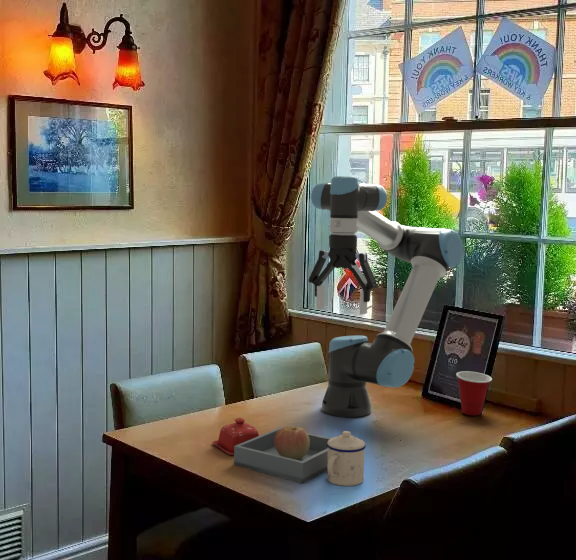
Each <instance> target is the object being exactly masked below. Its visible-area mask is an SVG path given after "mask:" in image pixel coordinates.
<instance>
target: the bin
mask: <svg viewBox="0 0 576 560" xmlns="http://www.w3.org/2000/svg"><path fill="white" fill-rule="evenodd" d="M282 428H284V427H283V426H282V427H281V426H280V427H278V428H275V429H273V430H271V431H268V432H265V433H263V434H259V436H258V437H255V438H253V439H251V440H248V441H246V442H243V443H241V444H238V445H236V446H234V455H233V465H234V466H237V467H242V468H245V469H248V470H251V471H254V472H257V473H260V474H261V473H262V474H265V475H270V476H272V477H276V478H279V479H283V480H286V481H291V482H293V483H297V484H301V485H304V484H305V483H307V482H308V481H311V480H313V479H315V478H317V477H318V476H320V475H322V474H324V473H327V455H328V447H327V442H328V440H329V439H331V438H332V437H327V436H323V435H317V434H313V433H309V432H307V434H308V436H309V439H310V445H309V450H308V452H307V454H306V455H305V456H304V457H303V458H301V459H298V460H295V459H291V458H287V457H283V456H280V455H279V454H278V452H277V450H276V448H275V444H274V438H275V435H276V433H277V432H278V431H279V430H280V429H282Z"/></svg>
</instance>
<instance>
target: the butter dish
mask: <svg viewBox="0 0 576 560" xmlns="http://www.w3.org/2000/svg"><path fill="white" fill-rule="evenodd" d="M245 420H246V419H244V418H243V417H237V418H235V419H234V421H235V422H233V423H229V424H228V423H227V424H226V425H224V426H222V427H221V429H220V432H219V436H218V440H213V441H212V443H211V444H213V445H214V446H215V447H217V448H219V449H221V450H222V451H223V452H224V453H226V454H227V455H230V456H234V446H236V445H238V444H241V443H243V442H246V441H248V440H251V439H253V438H255V437H258V436H260V433H259V431H258V430H257V429H256V428H255V426H253V425H251V424H249V423H247V422H245Z"/></svg>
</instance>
